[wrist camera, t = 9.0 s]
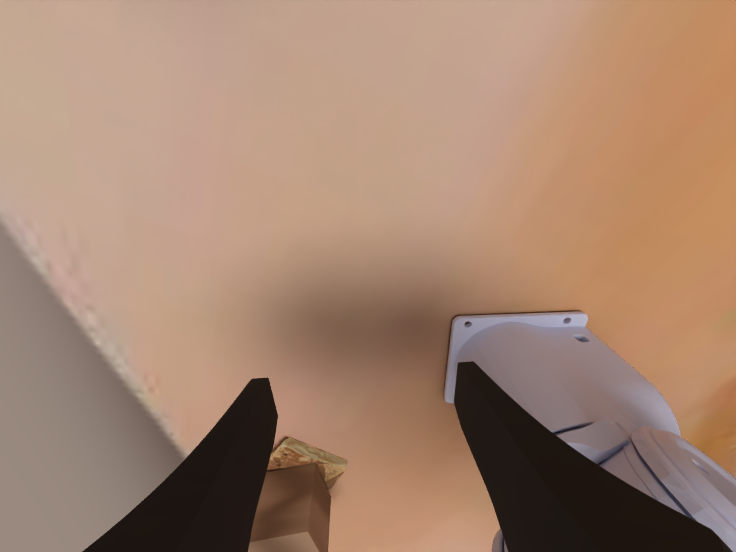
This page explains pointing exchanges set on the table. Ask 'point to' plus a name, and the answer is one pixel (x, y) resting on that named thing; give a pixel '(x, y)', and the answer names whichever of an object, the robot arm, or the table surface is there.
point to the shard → (307, 460)
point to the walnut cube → (292, 512)
